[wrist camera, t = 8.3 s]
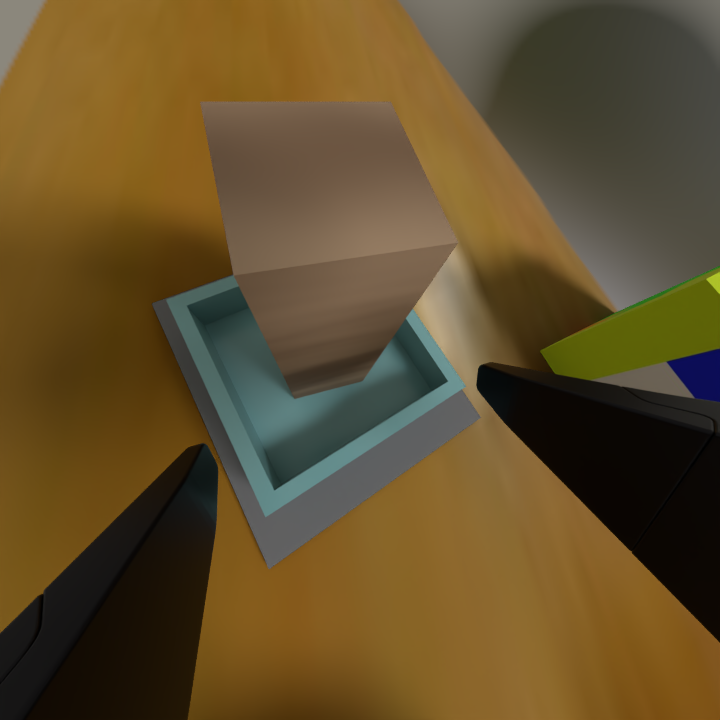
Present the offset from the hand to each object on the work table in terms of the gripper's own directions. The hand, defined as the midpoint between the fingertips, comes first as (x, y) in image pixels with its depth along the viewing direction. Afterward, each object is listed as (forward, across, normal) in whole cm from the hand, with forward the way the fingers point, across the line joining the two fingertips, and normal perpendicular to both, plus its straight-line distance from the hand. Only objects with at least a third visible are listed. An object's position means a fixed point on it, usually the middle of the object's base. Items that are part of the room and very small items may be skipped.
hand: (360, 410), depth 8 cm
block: (+9, 0, +2) cm, 9 cm away
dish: (+10, 0, +3) cm, 10 cm away
